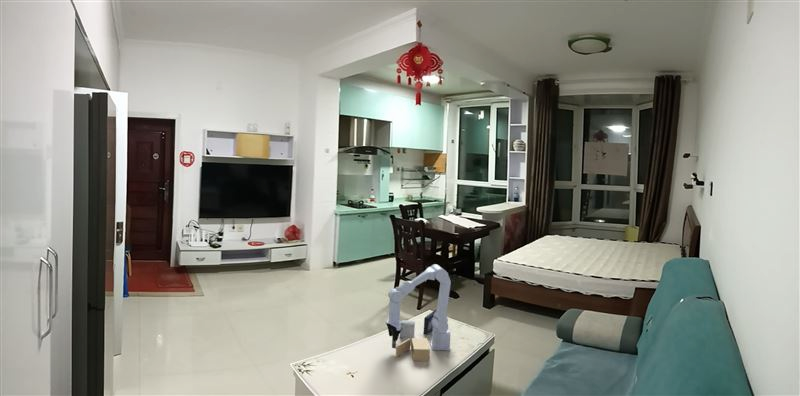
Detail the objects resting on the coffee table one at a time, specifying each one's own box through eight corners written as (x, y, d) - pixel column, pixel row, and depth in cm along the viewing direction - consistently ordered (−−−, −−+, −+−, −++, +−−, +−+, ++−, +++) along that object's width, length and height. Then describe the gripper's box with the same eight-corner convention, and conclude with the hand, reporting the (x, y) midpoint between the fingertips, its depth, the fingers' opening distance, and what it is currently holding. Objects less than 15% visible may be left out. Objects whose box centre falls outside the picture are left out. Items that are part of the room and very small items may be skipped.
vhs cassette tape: (427, 335, 226) (428, 318, 224) (422, 333, 227) (423, 316, 226) (441, 324, 241) (442, 308, 240) (437, 323, 242) (438, 307, 241)
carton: (426, 349, 209) (426, 338, 208) (429, 360, 197) (429, 349, 196) (411, 348, 208) (411, 338, 208) (413, 360, 196) (413, 349, 196)
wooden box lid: (410, 348, 208) (411, 330, 207) (396, 357, 199) (397, 338, 198) (402, 345, 211) (403, 327, 210) (388, 353, 202) (389, 335, 201)
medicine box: (414, 335, 224) (415, 321, 223) (413, 339, 219) (414, 324, 218) (400, 334, 225) (401, 319, 224) (399, 338, 220) (400, 323, 219)
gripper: (382, 308, 208) (381, 333, 210) (392, 319, 195) (390, 345, 196) (394, 306, 211) (393, 331, 212) (405, 317, 197) (404, 343, 199)
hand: (393, 338), depth 204 cm, fingers open, 5 cm apart
